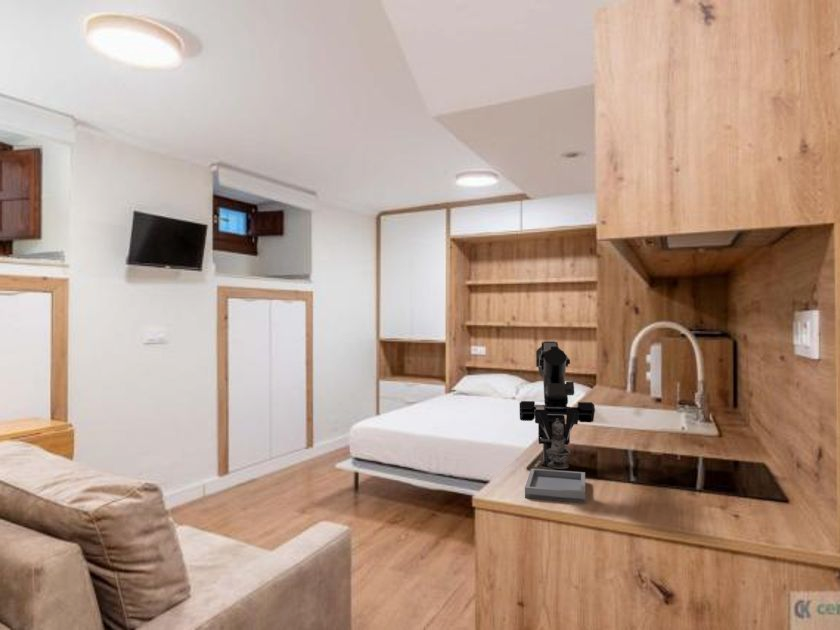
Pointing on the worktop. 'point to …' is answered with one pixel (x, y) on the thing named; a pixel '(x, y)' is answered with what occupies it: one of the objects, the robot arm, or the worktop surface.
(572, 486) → the grey tray
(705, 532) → the worktop surface
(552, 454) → the grey tall rounded piece
